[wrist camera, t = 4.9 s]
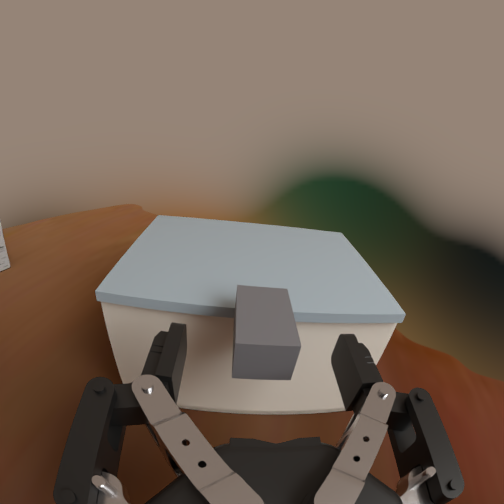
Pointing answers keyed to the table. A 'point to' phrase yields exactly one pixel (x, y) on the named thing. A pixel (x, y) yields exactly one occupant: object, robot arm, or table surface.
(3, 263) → the light bulb box
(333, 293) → the lid
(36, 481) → the table surface
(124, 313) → the carton
